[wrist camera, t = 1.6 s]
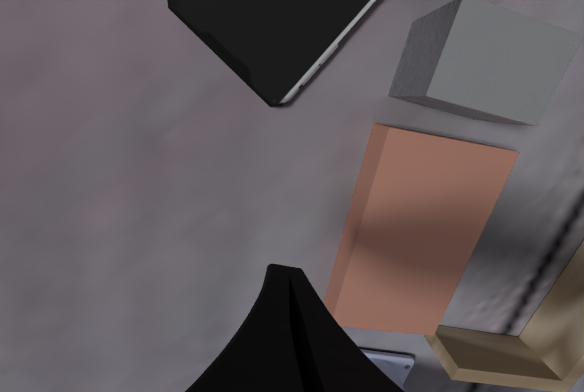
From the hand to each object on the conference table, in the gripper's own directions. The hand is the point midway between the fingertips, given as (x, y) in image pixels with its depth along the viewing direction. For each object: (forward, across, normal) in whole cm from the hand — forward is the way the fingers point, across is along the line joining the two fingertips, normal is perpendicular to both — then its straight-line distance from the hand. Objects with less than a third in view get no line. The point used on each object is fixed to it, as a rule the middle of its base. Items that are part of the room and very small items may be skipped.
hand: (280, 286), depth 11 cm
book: (+9, -9, 0) cm, 13 cm away
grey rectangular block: (+8, -8, -10) cm, 16 cm away
